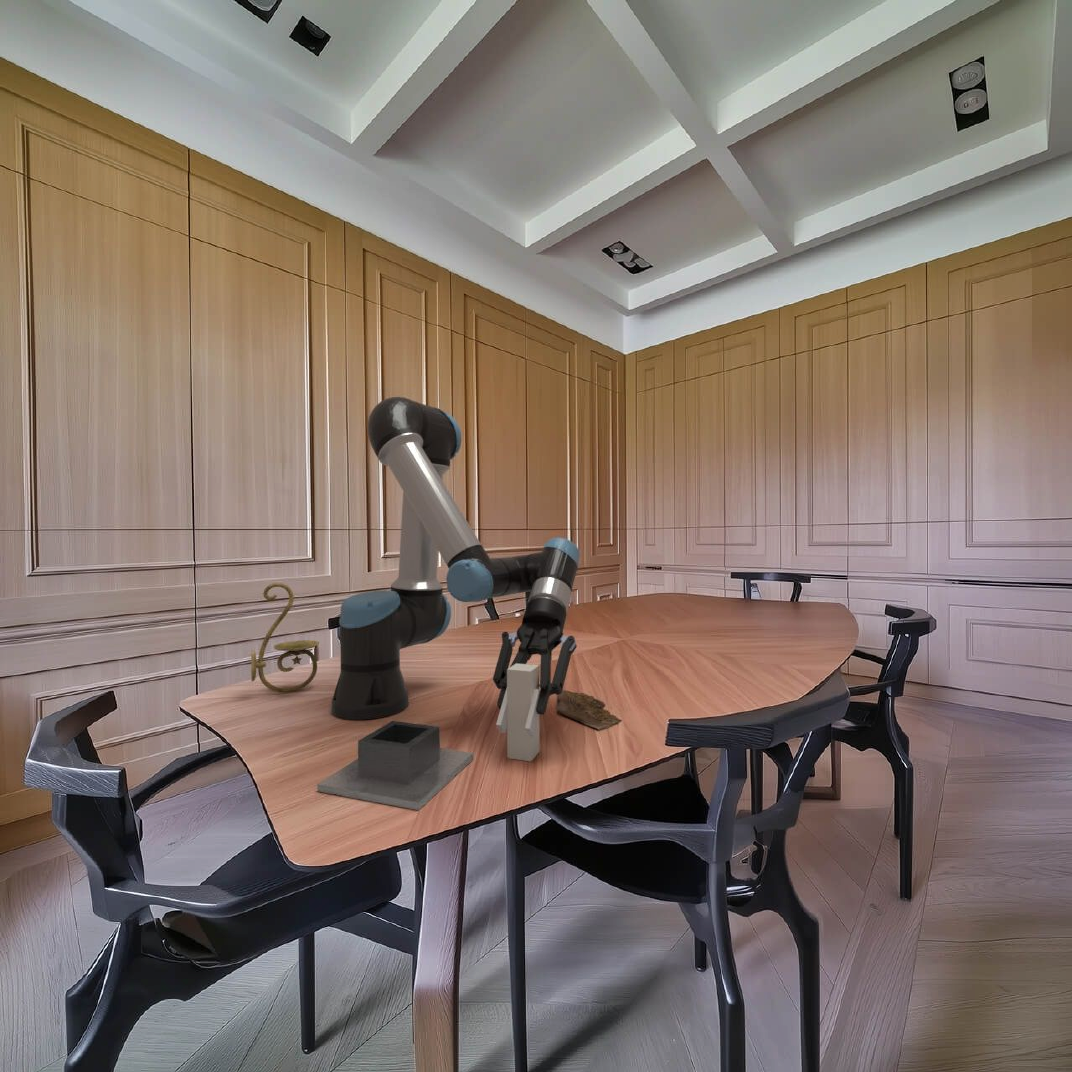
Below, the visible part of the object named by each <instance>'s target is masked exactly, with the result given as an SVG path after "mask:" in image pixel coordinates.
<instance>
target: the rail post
mask: <svg viewBox="0 0 1072 1072" xmlns="http://www.w3.org/2000/svg"><path fill="white" fill-rule="evenodd" d="M510 666H511V665H510ZM510 666H509V667H508V669H507V729H506V732H507V733H506V735H507V736H506V737H507V743H506V745H507V746H506V747H507V749H506V750H507V752H506V754H507V755H506V756H507V759H511V760H518V761H526V762H532V761H533V760H534V759H535V758H536V756H537V755H538V754H539V753H540V749H541V748H540V716H539V717H538V721H537V726H536V730H535V734H534V737H531V736H529V735H528V733H527V731H526V729H525V726H526V722H527V718H528V714H529V710H530V706H531V702H532V698H533V694H534V690H535V689H539V690H540V686H539V684H540V665H539V664H528V663H526V664H517V663H516V664H515V665H513V666H511V667H510Z"/></svg>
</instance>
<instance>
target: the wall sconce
mask: <svg viewBox="0 0 1072 1072" xmlns="http://www.w3.org/2000/svg"><path fill="white" fill-rule="evenodd" d="M277 587H278V588H281V589H284V590H285V591H286V592H287V594H288V603H287V605H286V606H285V608H284V610H283V611H282V612H281V613H280V614H279V616H278V617H277V618H276V620H275V621H274V622H273V624H272V626H270V628H269V630H268V631H267V633H266V635H265V637H264V639H263V641H262V644H261V646H260V649H259V653H258V660H257V656H256V652H255V650H254V649H253V650H251V652H250V653H251V657H250V658H251V659H250V660H251V661H250V662H251V663H250V664H251V665H250V666H251V669H250V671H251V682H254V681H255V680H256V678H257V671H258V675H259V676H258V677H259V680H260V681H261V683H262V685H264V686H265V687H266V688H267V689H269V690H271V691H273V692H278V693H292V692H296V691H299V690H301V689H303V688H305V687H307V686H308V685H309V684H310V683H311V682H312V681H313V680H314V678H315V676H316V675H317V671H318V661H317V658H316V655H314V653H313V652H312V651H311V650H309V649H313V648H315V647H317V646H319V645H320V641H318V640H317V641H316V640H293V641H286V642H281V643H277V644H274V645H273V648H274V650H277V651H281V652H282V651H284V652H283V653H282V654H281V655H280V656H279V657H278V659H277V663H276V665H277V667H278V668H277V669H278V670H280V671H281V672H282V673H286V672H291V671H293V670H294V667H291V666H289V667H284V666H283V664H282V663H283V660H284V659H285V658H286V657H288V656H290V655H294V656H295V658H292V659H291V660H292V662H293V665H296V664H298V665H301V660H302V659H303V658H301V657H300V658H299V656H300V654H306V655H307V656H308V657H309V658H310V659H311V663H312V671H311V674H310V675H309V677H308V678H307V679H306V680H305V681H304V682H302V683H300V684H298V685H295V686H292V687H278V686H275V685H273V684H272V683H270V682H269V681H268V680H267V679H266V677H265V673H264V668H265V667H267V662H266V661H264V654H265V651H266V648H267V645H268V643H269V640H270V639H271V637H272V635H273V633H274V631H275V630H276V629H277V628H278V626H279V624H280V623H281V622H282V621H283V619H285V617H286V615H287V614H288V613H289V611H290V610H291V608H292V606H293V604H294V598H295V596H294V593H293V591H292V589H291V587H289V586H288V585H287V584H285V583H282V582H275V583H274V582H273V583H270V584H269V585H268V586H266V587H265V589H264V591H263V594H262V595H263V597H264V598H265V600H268V601H274V600H275V599H277V597H278V595H276V594H273V596H269V594H268V593H269V591H270V590H271V589H273V588H277Z"/></svg>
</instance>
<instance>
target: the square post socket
mask: <svg viewBox="0 0 1072 1072" xmlns="http://www.w3.org/2000/svg"><path fill="white" fill-rule="evenodd" d="M440 733H441V729H440V726H435V725H428V724H427V725H426V724H420V723H414V722H413V723H412V722H405V721H396V720H392V721H390V722H388V723H386V724H384V725H383V726H381V727H379V728H378V729H376V730H374V731H372V732H370V733H369V734H367V735H366V736H364V737H361V738H360V739H359V740H357V759H355V760H353V761H352V762H350V763H349V764H347V765H345V766H344V767H342V768H340V769H339V770H337V771H336V772H334V773H332V774H331V775H330V776H328V777H327V778H325V779H323V780H322V781H320V782H319V783H317V784H316V785H317V787H316V789H317V792H319V793H325V794H330V795H334V794H338V795H337V796H339V795H342V796H341V797H345V796H346V797H345V798H351V799H356V800H361V801H367V802H372V803H378V804H383V805H388V806H392V807H398V808H405V809H410V810H413V811H420V810H421V808H423V807H424V806H425V805H426V804H427V803H428V802H429V801H430V800H432V799H433V798H434V797H435V796H436V795H437V794H439V792H440V791H441V790H442V789H443V788H444V787H445V786H446V785H447V784H449V783H450V781H451V782H452V780H453V779H454V778H455V777H456V776H457V775H458V774H460V772H461V771H462V770H463V769H464V768H466V767H467V766H468V764H470V763H471V762H472V761H473V760H474V752H470V751H464V750H456V749H449V748H442V747H440V745H441V740H440V735H441V734H440ZM466 765H467V766H466ZM456 774H457V775H456ZM455 775H456V776H455ZM451 779H452V780H451Z"/></svg>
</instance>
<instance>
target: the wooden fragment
mask: <svg viewBox="0 0 1072 1072" xmlns="http://www.w3.org/2000/svg"><path fill="white" fill-rule="evenodd" d="M556 696H557V698H556V712H557V714H561V715H564V716H566V717H567V718H571V719H573V720H575V721H577V722H580V723H582V724H584V725H586V726H588V727H592V728H594V729H597V732H600V731H603V730H608V729H611V728H613V727H614V726H616V725H617V726H618V725H619V723H621V722H623V720H622V719H620V718H618V717H617V716H616V715H614V714H611V712H610V711H609V710H607V709H606V710H605V709H604V707H605V705H606V703H605V702H604V701H602V700H600V699H597V698H594V695H588V694H585V693H583V692H576V691H574V692H573V691H569V690H567V689H566V690H565V689H563V690H562V693H561V694H559V695H557V694H556ZM610 727H611V728H610Z"/></svg>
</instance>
